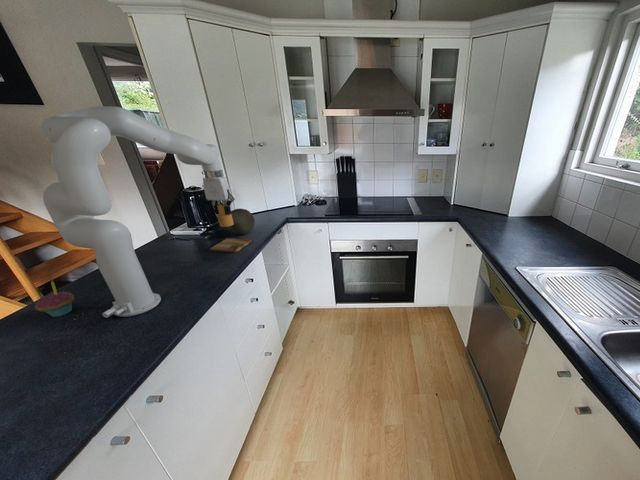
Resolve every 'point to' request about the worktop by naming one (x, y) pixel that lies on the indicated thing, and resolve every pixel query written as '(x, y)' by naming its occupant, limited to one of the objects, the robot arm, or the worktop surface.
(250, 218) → the cantaloupe
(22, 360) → the worktop surface
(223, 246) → the board
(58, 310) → the cupcake
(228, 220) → the squash
